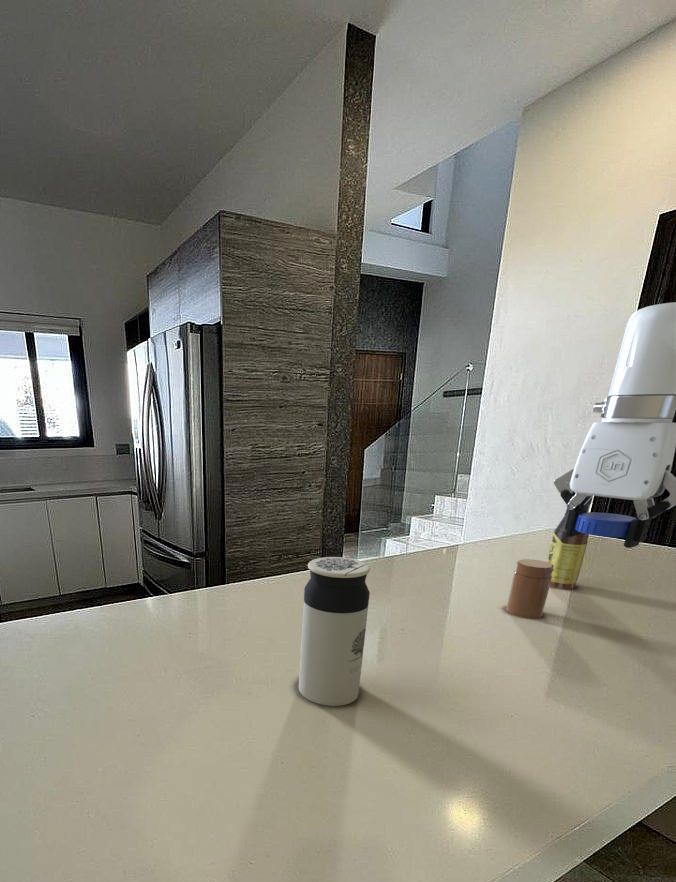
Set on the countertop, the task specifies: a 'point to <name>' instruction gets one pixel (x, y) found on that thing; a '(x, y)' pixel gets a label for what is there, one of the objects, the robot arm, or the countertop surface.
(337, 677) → the travel mug
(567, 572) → the sauce bottle
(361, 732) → the countertop surface
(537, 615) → the jar
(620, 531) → the lid
